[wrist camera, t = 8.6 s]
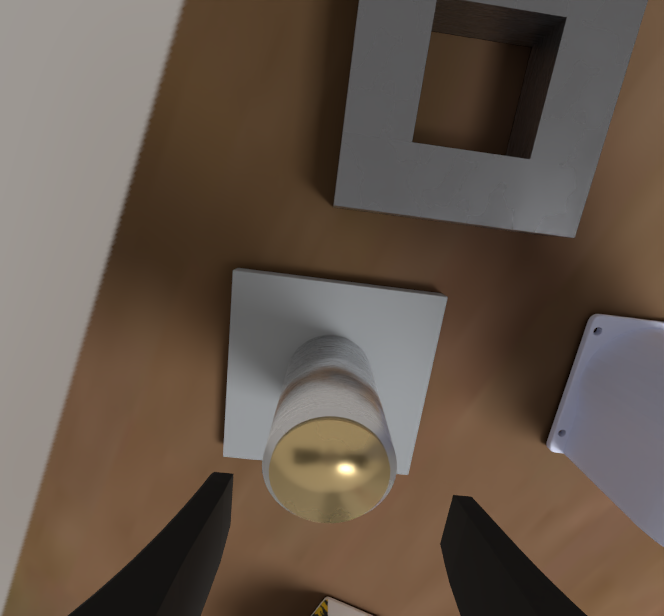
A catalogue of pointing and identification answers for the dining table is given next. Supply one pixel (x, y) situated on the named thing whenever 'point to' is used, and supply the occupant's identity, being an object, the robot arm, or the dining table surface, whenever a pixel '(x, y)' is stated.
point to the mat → (318, 320)
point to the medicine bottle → (337, 609)
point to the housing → (529, 124)
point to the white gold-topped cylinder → (329, 435)
